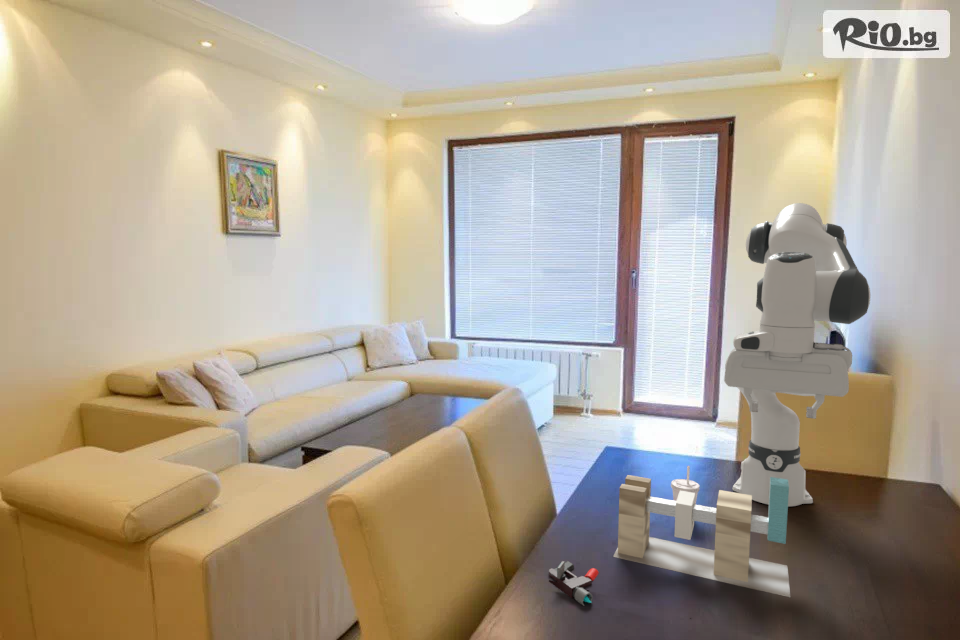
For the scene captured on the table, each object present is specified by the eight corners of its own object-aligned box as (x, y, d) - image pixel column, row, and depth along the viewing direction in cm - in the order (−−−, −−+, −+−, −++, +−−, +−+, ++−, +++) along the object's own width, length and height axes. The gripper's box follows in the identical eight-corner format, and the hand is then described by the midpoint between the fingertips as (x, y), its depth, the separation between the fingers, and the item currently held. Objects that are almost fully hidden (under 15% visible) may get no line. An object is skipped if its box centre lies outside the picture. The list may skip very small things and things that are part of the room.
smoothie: (700, 530, 129) (702, 471, 128) (671, 528, 131) (673, 469, 129) (695, 518, 136) (698, 462, 134) (667, 516, 137) (669, 460, 136)
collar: (678, 522, 119) (680, 490, 118) (693, 525, 117) (695, 492, 116) (674, 536, 112) (675, 503, 112) (690, 540, 111) (691, 505, 110)
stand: (625, 536, 126) (627, 471, 125) (787, 571, 112) (791, 498, 111) (612, 562, 116) (614, 490, 114) (790, 603, 102) (794, 522, 100)
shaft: (641, 507, 120) (642, 457, 119) (784, 534, 108) (787, 479, 107) (637, 515, 117) (639, 463, 116) (785, 543, 105) (788, 486, 104)
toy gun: (584, 612, 100) (585, 586, 99) (541, 580, 110) (541, 557, 109) (623, 595, 105) (623, 570, 104) (578, 566, 115) (579, 543, 114)
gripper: (850, 342, 102) (845, 417, 103) (727, 335, 111) (724, 404, 112) (855, 346, 96) (850, 426, 98) (725, 339, 105) (722, 411, 107)
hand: (781, 414), depth 105 cm, fingers open, 8 cm apart
